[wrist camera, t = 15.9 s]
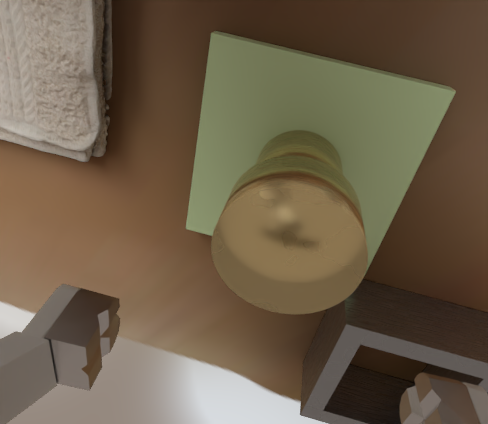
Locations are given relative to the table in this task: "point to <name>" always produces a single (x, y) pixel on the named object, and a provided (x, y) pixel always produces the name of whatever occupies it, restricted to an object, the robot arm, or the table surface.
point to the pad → (310, 124)
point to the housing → (389, 340)
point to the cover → (292, 229)
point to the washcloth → (56, 75)
